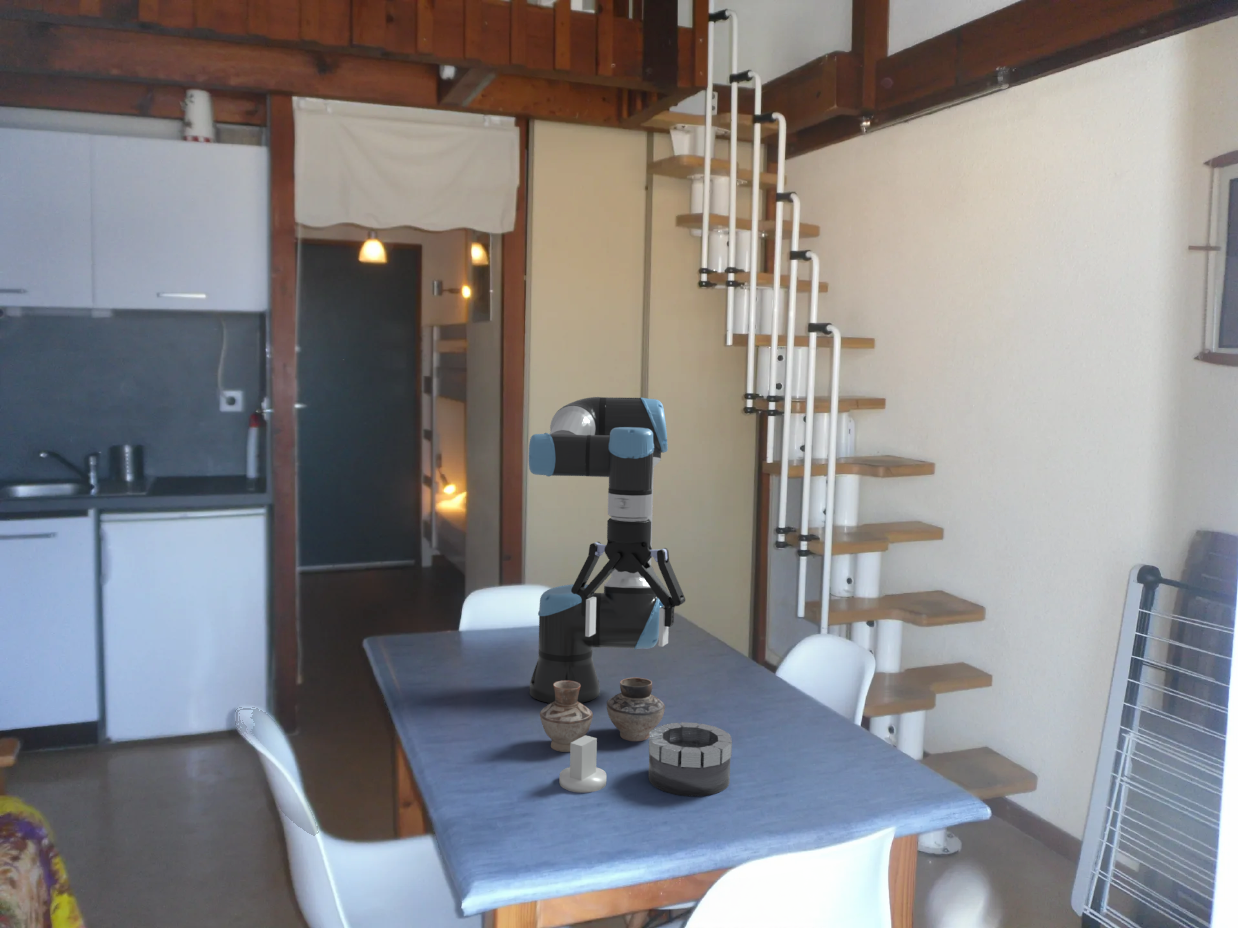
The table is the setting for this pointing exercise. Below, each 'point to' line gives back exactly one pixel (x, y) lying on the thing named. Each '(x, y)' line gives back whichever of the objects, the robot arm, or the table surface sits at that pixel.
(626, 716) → the pottery
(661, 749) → the toothed ring drum
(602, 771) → the cap
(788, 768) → the table surface
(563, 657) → the robot arm
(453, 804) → the table surface
